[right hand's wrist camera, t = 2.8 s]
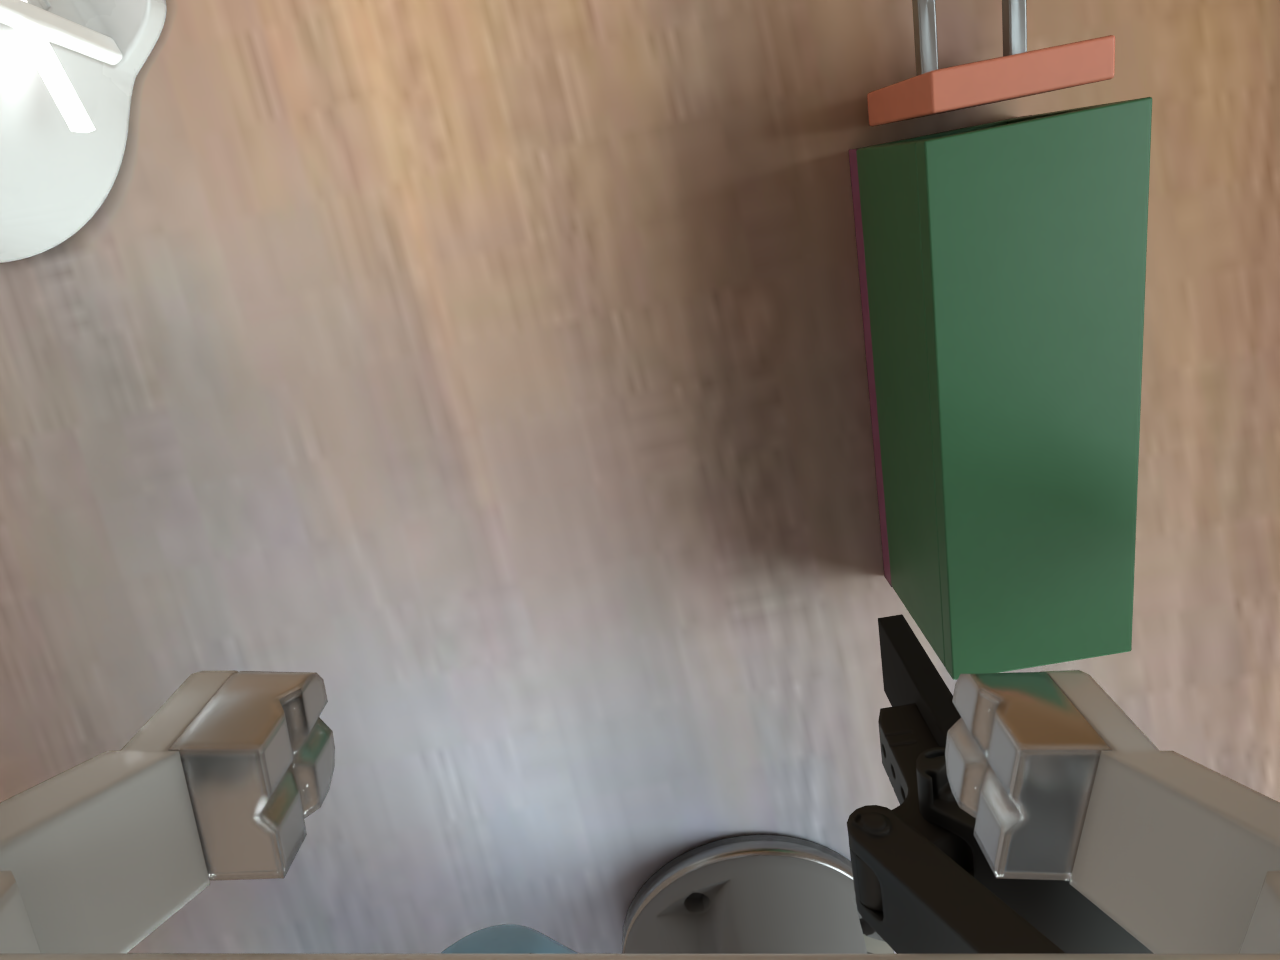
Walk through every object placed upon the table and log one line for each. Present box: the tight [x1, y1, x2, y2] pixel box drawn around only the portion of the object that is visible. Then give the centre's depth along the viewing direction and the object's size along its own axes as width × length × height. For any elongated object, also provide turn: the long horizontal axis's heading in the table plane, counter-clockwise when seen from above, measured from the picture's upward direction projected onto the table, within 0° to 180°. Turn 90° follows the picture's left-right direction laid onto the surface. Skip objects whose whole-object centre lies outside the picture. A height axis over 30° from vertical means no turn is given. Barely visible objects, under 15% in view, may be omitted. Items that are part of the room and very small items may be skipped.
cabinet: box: [849, 97, 1152, 680], centre depth 31 cm, size 19×7×9 cm, turn 10°
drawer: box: [867, 0, 1115, 126], centre depth 29 cm, size 24×6×7 cm, turn 10°
